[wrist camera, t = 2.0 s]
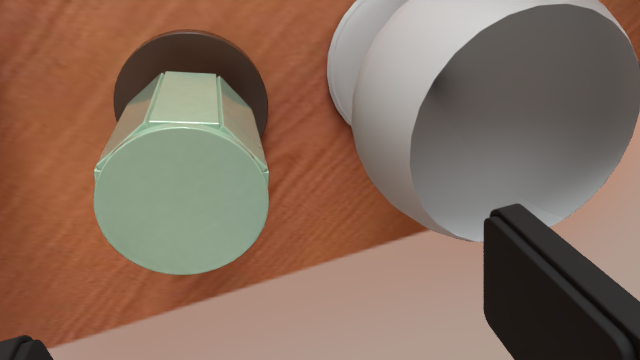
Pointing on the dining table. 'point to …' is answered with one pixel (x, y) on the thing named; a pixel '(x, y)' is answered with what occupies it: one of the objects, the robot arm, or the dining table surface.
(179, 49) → the towel holder
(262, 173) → the green cup
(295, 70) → the dining table surface
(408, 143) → the chalice
